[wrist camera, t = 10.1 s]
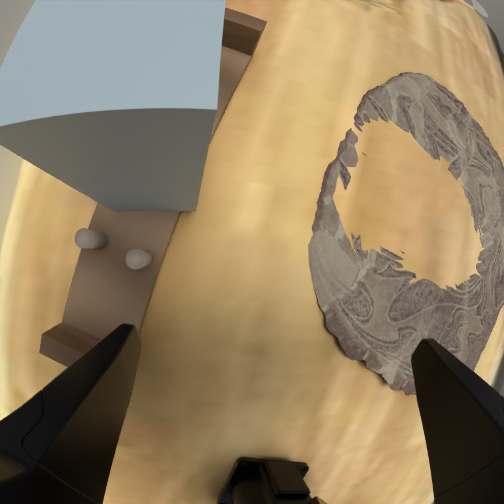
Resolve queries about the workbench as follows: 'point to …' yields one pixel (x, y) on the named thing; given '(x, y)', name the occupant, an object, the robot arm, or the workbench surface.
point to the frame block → (116, 97)
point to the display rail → (134, 235)
